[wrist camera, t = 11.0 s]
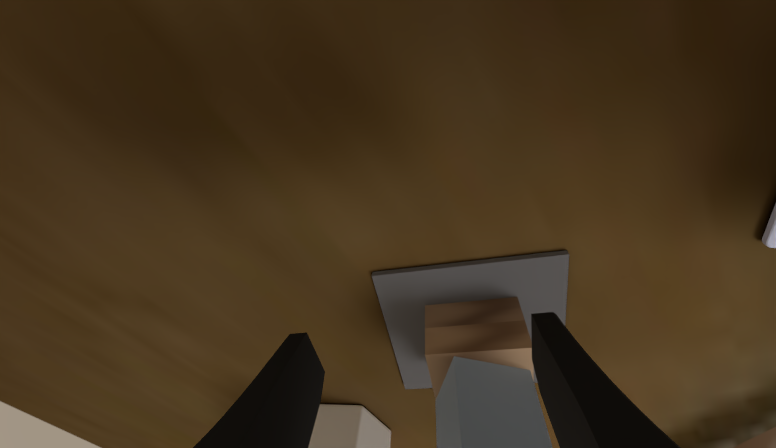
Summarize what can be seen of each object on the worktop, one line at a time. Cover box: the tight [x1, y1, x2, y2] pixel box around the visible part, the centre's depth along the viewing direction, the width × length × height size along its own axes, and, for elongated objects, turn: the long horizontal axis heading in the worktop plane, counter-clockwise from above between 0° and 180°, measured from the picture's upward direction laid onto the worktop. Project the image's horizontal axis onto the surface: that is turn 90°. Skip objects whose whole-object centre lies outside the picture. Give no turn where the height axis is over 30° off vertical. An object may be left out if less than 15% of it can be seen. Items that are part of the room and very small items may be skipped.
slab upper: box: [425, 320, 534, 399], centre depth 23 cm, size 6×6×2 cm
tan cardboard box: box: [425, 297, 525, 328], centre depth 24 cm, size 6×6×2 cm
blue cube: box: [436, 356, 552, 448], centre depth 20 cm, size 4×4×5 cm
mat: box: [372, 250, 569, 389], centre depth 25 cm, size 12×12×1 cm
